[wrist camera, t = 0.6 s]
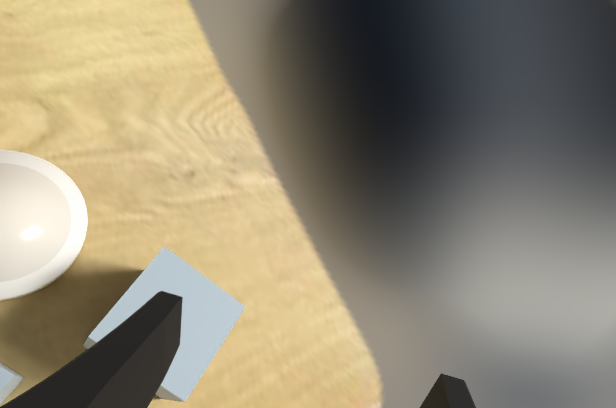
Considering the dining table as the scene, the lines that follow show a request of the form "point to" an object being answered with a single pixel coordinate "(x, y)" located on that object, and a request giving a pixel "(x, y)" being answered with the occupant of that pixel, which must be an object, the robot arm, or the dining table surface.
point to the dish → (37, 224)
